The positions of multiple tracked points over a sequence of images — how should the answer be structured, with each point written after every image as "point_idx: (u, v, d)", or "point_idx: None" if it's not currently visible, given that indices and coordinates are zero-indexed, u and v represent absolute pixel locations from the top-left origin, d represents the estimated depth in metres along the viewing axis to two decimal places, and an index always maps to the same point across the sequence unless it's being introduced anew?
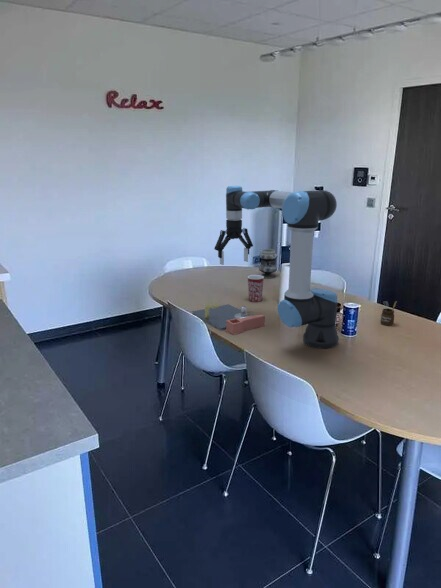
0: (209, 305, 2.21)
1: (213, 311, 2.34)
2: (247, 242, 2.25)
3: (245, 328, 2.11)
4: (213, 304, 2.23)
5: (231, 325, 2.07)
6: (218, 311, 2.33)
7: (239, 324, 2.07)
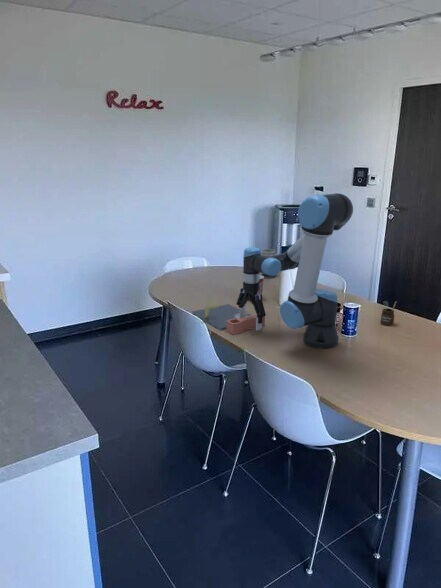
0: (209, 305, 2.21)
1: (213, 311, 2.34)
2: None
3: (245, 328, 2.11)
4: (213, 304, 2.23)
5: (231, 325, 2.07)
6: (218, 311, 2.33)
7: (239, 324, 2.07)
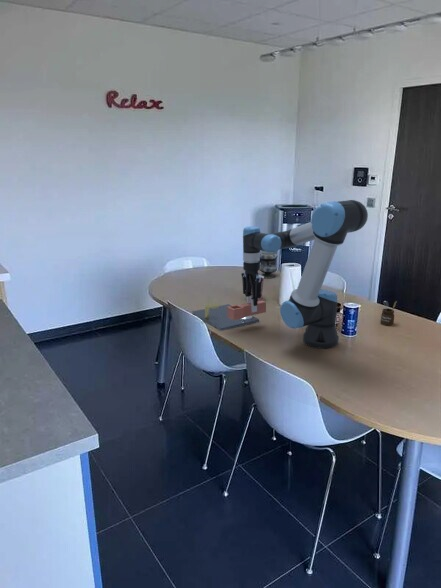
0: (209, 305, 2.21)
1: (213, 311, 2.34)
2: None
3: (246, 314, 2.09)
4: (213, 304, 2.23)
5: (232, 311, 2.04)
6: (218, 311, 2.33)
7: (240, 310, 2.05)
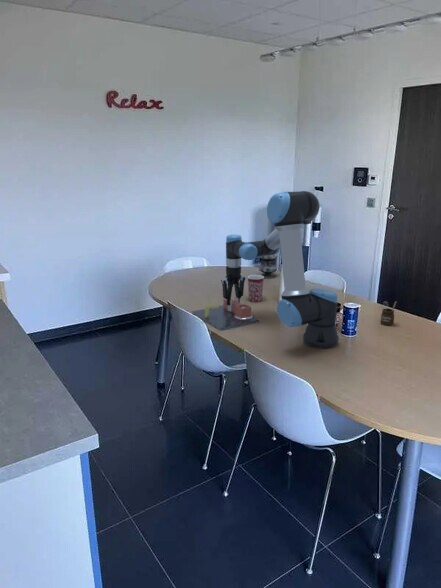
0: (209, 305, 2.21)
1: (213, 311, 2.34)
2: (239, 290, 2.34)
3: None
4: (213, 304, 2.23)
5: (249, 309, 2.24)
6: (218, 311, 2.33)
7: None
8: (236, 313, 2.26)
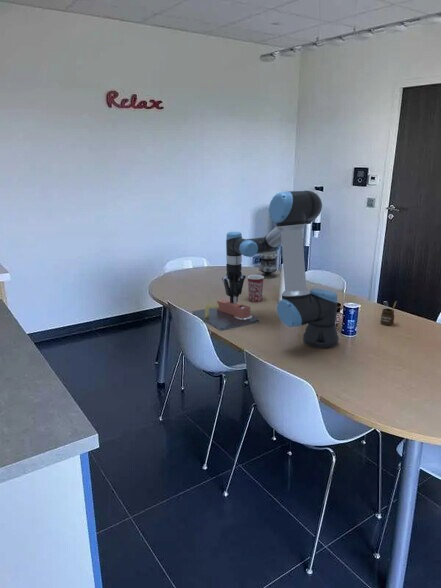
0: (209, 305, 2.21)
1: (213, 311, 2.34)
2: (237, 288, 2.32)
3: None
4: (213, 304, 2.23)
5: (248, 309, 2.24)
6: (218, 311, 2.33)
7: None
8: (235, 314, 2.25)
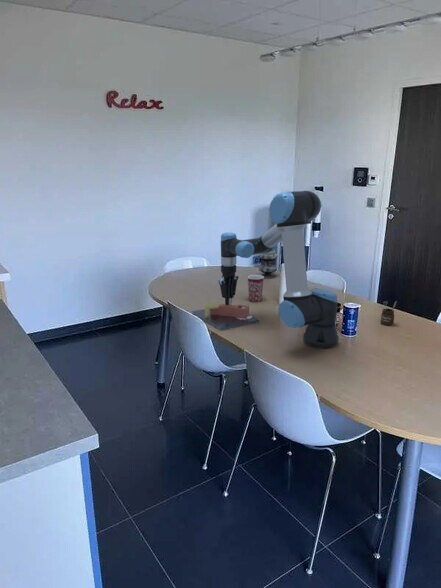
0: (209, 305, 2.21)
1: None
2: None
3: None
4: (213, 304, 2.23)
5: (248, 308, 2.25)
6: None
7: None
8: (237, 315, 2.23)
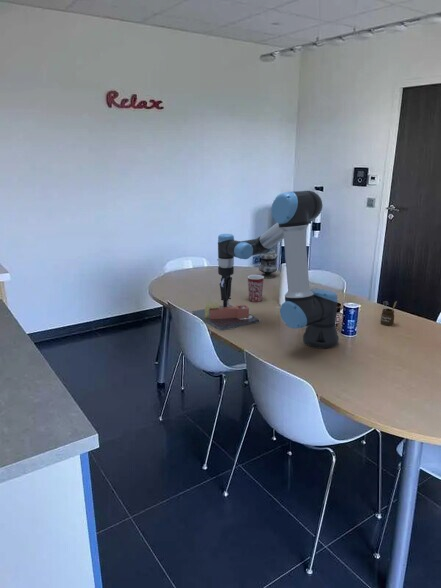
0: (209, 305, 2.21)
1: None
2: None
3: None
4: (213, 304, 2.23)
5: None
6: None
7: None
8: (239, 316, 2.22)
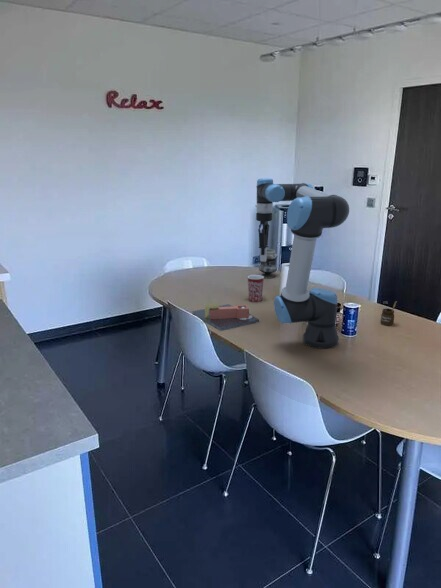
0: (209, 305, 2.21)
1: None
2: None
3: None
4: (213, 304, 2.23)
5: None
6: None
7: None
8: (239, 316, 2.22)
